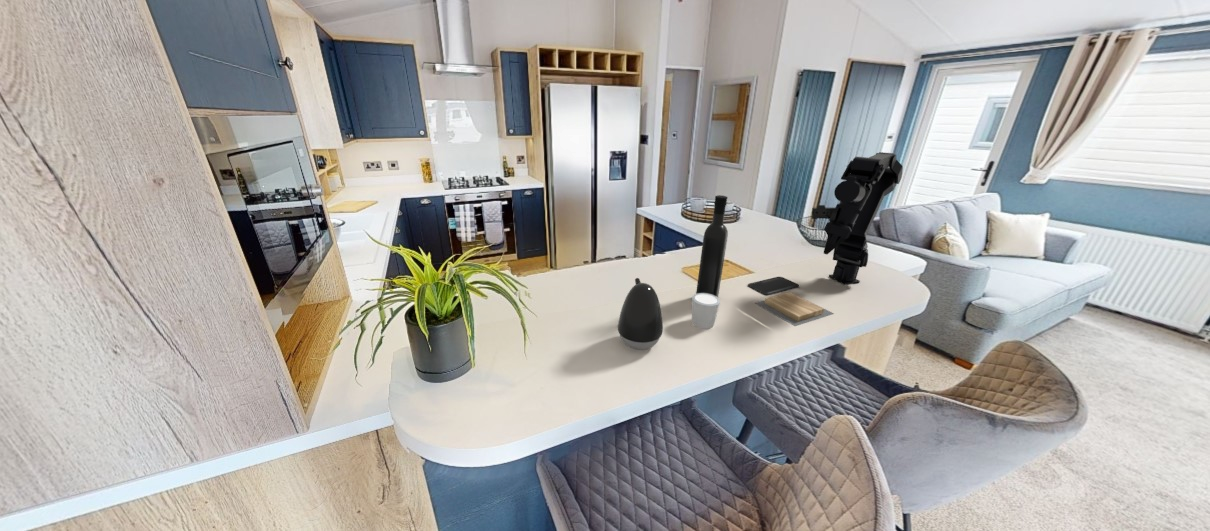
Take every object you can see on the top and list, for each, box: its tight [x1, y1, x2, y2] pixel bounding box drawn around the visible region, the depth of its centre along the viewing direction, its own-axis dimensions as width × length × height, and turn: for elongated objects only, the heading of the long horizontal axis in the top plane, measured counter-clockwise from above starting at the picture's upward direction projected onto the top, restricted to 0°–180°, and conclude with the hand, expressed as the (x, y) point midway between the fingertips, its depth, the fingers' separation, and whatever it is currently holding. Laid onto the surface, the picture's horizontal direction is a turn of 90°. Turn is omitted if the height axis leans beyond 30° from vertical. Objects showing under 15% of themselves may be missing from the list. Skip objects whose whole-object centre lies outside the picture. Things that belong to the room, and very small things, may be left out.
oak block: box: [764, 291, 825, 322], centre depth 106 cm, size 2×11×10 cm
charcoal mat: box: [754, 299, 835, 327], centre depth 107 cm, size 16×14×1 cm
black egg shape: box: [617, 277, 664, 351], centre depth 87 cm, size 10×10×15 cm
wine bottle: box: [695, 195, 729, 298], centre depth 104 cm, size 6×6×30 cm
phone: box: [747, 276, 800, 296], centre depth 120 cm, size 8×1×15 cm
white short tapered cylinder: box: [691, 293, 721, 330], centre depth 97 cm, size 7×7×7 cm
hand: (825, 253), depth 113 cm, fingers closed
